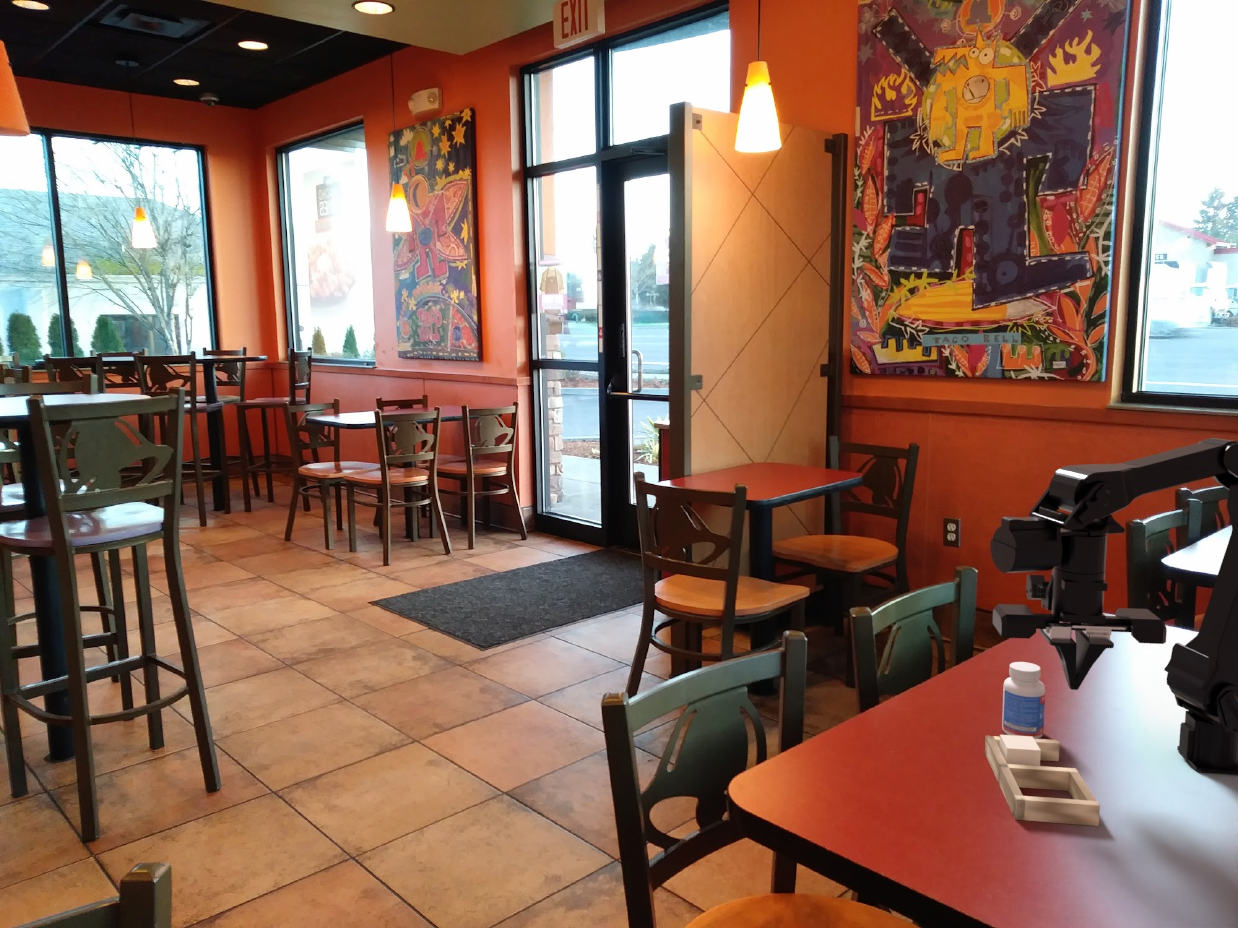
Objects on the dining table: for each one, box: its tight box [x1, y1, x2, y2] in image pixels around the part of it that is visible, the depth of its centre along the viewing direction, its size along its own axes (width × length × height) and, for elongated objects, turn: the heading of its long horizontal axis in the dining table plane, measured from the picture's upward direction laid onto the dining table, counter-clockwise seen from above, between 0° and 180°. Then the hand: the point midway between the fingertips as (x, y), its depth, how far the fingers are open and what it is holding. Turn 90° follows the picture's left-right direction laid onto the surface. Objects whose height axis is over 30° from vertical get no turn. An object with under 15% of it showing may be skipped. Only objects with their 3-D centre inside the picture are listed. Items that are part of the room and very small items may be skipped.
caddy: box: [984, 735, 1101, 827], centre depth 111 cm, size 9×17×2 cm, turn 169°
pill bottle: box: [1001, 661, 1046, 739], centre depth 126 cm, size 6×5×10 cm
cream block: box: [999, 734, 1041, 766], centre depth 116 cm, size 4×4×4 cm
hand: (1073, 688), depth 113 cm, fingers closed
